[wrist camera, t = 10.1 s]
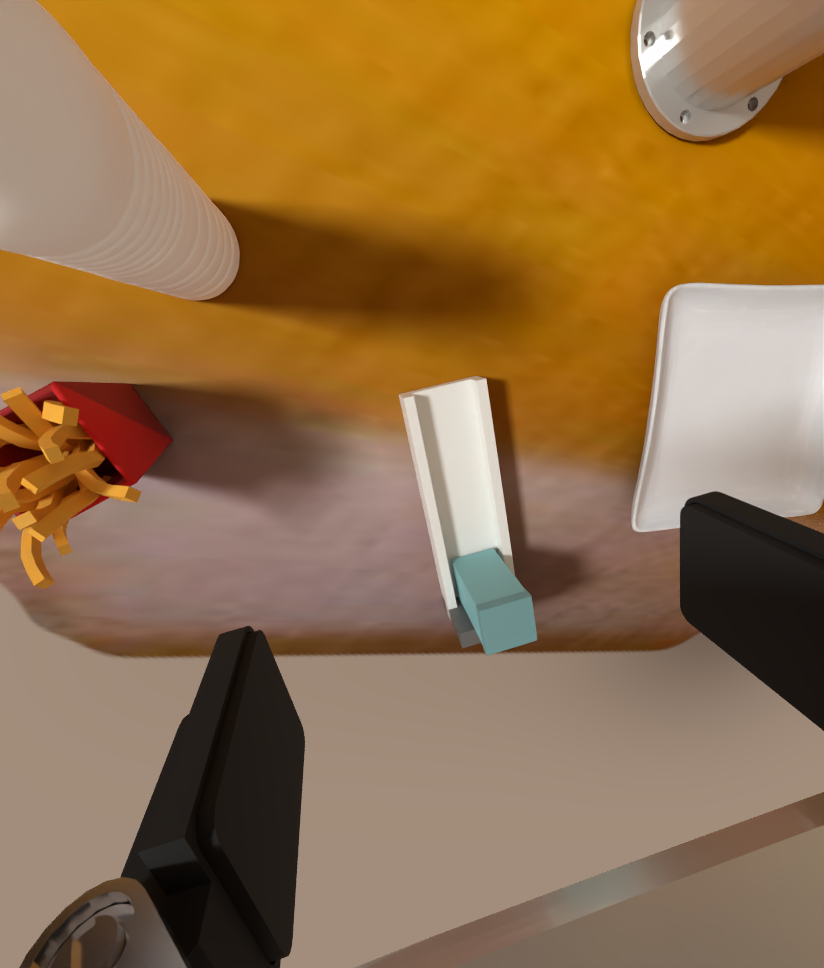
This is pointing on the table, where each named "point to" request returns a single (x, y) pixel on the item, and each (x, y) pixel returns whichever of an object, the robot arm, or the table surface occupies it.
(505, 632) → the block
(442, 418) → the channel
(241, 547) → the table surface
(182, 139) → the table surface
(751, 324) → the salad plate
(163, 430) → the french fries
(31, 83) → the water bottle
